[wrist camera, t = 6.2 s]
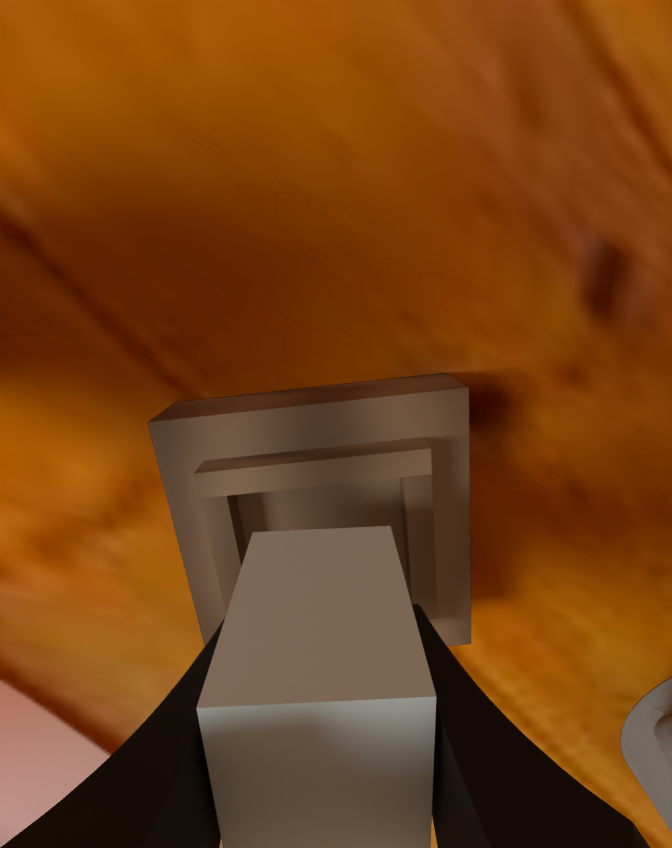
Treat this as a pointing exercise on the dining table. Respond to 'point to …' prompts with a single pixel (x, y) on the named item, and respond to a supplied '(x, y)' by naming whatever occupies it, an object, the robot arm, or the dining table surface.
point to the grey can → (652, 747)
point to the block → (320, 698)
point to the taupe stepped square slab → (324, 482)
